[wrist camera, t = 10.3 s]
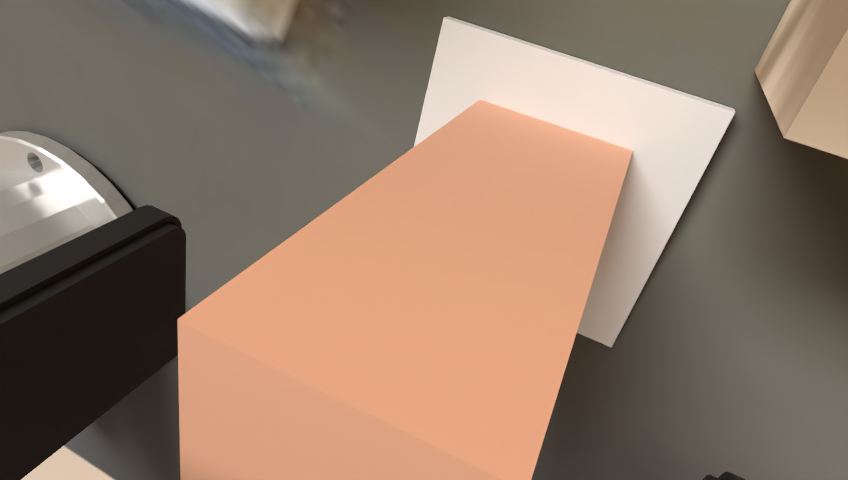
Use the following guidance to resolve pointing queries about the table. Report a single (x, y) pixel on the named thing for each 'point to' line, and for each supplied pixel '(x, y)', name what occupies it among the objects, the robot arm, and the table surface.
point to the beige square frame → (809, 74)
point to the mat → (597, 117)
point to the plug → (407, 316)
